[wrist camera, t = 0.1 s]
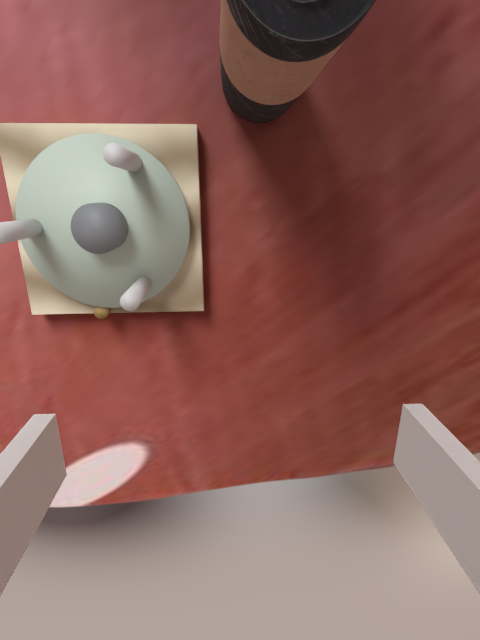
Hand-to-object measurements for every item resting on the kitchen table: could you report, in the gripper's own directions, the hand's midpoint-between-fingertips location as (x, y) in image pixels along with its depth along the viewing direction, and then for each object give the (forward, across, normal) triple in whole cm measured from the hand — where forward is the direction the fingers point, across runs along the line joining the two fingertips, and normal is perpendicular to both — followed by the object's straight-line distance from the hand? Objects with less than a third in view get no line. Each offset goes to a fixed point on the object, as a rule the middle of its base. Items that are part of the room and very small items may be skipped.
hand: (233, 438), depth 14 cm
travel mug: (+28, +4, +19) cm, 34 cm away
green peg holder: (+26, -11, +6) cm, 29 cm away
